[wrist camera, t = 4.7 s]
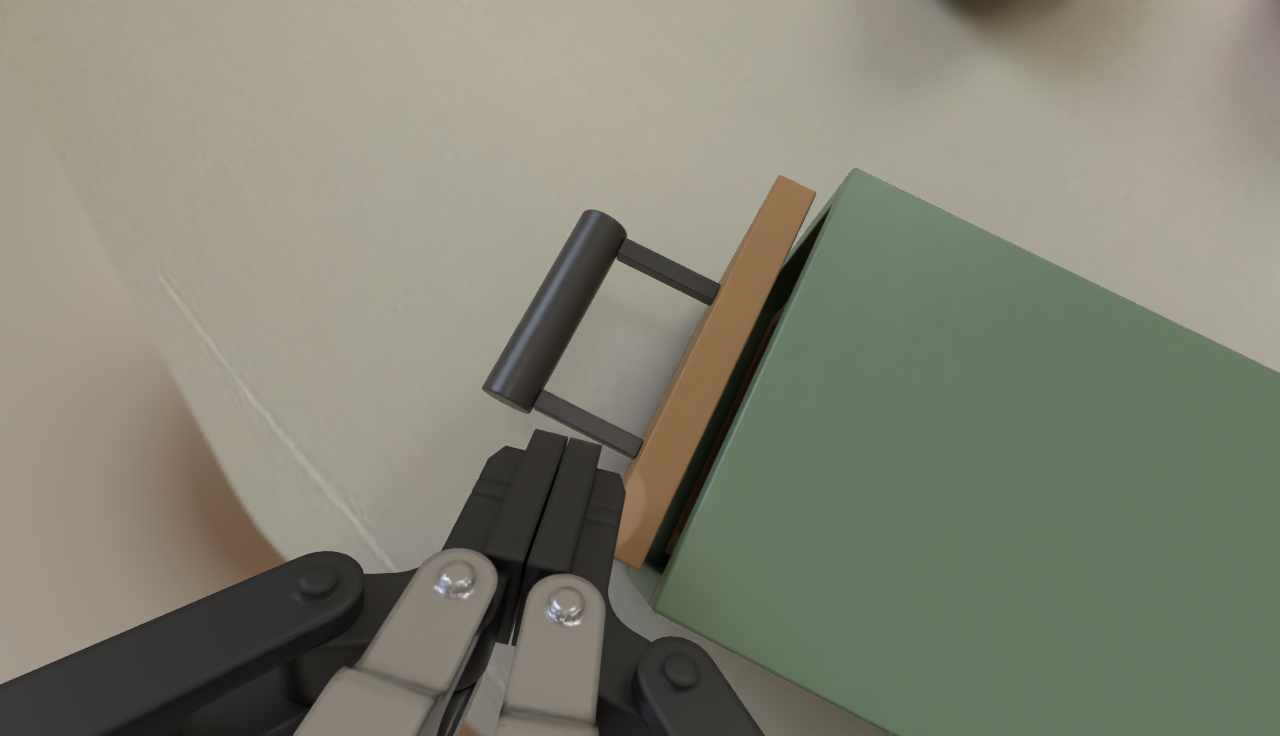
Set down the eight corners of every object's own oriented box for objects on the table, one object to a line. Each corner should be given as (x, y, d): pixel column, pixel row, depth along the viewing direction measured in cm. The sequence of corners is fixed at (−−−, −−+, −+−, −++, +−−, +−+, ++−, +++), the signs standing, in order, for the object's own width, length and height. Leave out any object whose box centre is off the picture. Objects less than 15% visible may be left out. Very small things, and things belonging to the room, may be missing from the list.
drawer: (469, 474, 23) (410, 453, 15) (612, 222, 25) (622, 96, 18) (932, 713, 22) (1113, 814, 14) (1026, 426, 25) (1219, 387, 17)
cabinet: (625, 573, 23) (651, 610, 14) (759, 290, 26) (854, 165, 17) (984, 757, 23) (1260, 924, 13) (1077, 447, 26) (1355, 407, 16)
